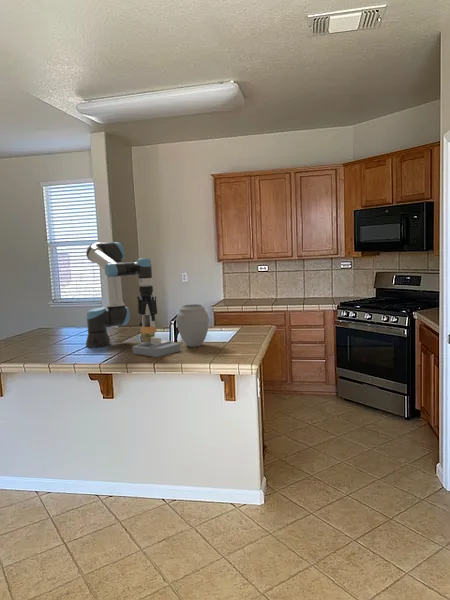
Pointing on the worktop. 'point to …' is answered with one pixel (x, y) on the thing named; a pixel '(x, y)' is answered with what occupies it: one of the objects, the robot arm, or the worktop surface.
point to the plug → (148, 326)
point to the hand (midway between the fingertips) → (148, 326)
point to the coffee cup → (146, 337)
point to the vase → (193, 324)
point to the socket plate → (156, 348)
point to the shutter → (157, 340)
